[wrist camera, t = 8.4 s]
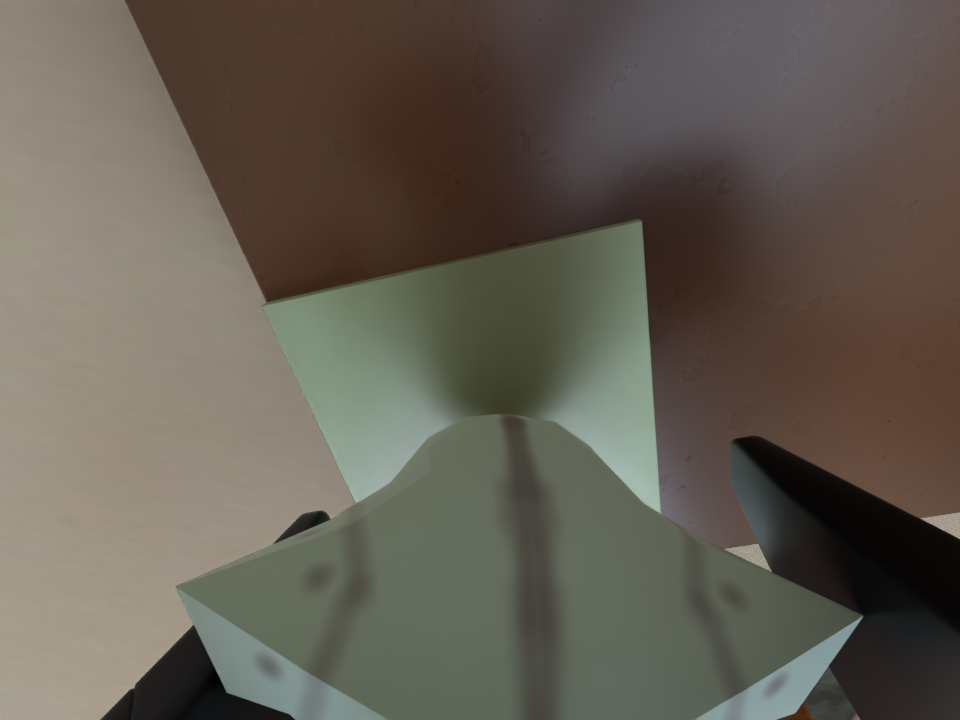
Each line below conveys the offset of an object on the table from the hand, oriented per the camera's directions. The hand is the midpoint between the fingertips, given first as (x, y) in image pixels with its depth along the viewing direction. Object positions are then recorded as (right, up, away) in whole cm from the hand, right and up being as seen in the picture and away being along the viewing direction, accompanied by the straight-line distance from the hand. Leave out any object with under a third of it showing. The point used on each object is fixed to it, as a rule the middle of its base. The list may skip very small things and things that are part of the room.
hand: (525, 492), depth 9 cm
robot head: (0, +1, +2) cm, 2 cm away
